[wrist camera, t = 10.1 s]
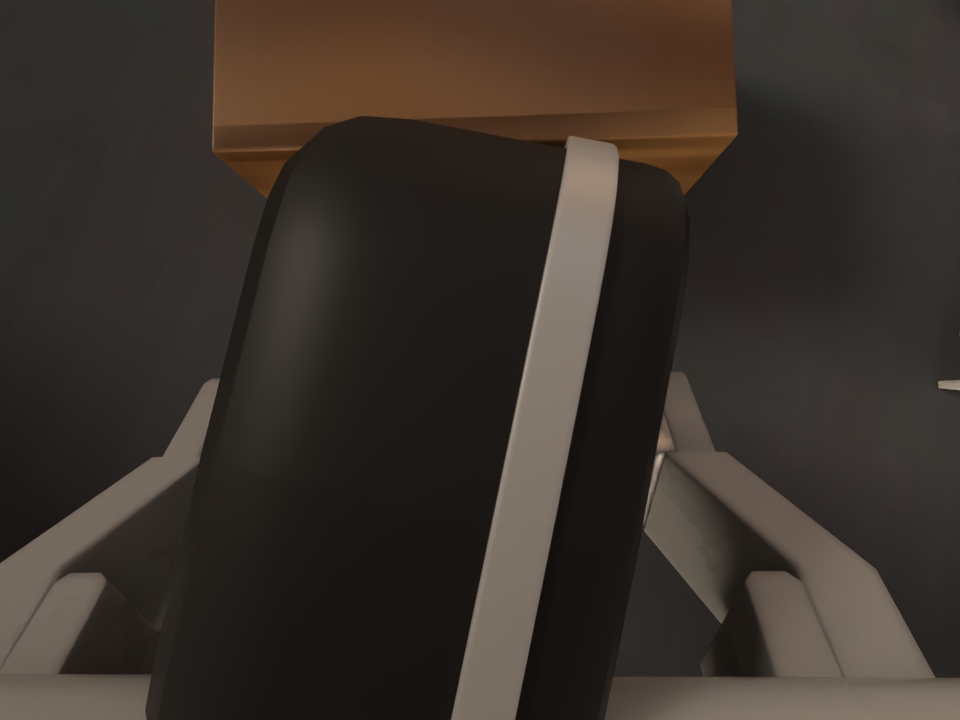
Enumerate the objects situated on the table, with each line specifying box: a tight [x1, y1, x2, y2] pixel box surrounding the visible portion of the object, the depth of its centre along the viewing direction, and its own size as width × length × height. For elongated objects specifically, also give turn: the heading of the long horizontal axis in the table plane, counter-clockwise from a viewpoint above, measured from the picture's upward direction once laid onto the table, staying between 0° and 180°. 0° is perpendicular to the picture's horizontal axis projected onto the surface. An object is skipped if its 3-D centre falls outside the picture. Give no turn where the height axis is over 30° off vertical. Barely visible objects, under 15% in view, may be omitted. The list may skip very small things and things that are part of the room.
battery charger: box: [145, 116, 690, 720], centre depth 9 cm, size 7×4×11 cm, turn 168°
